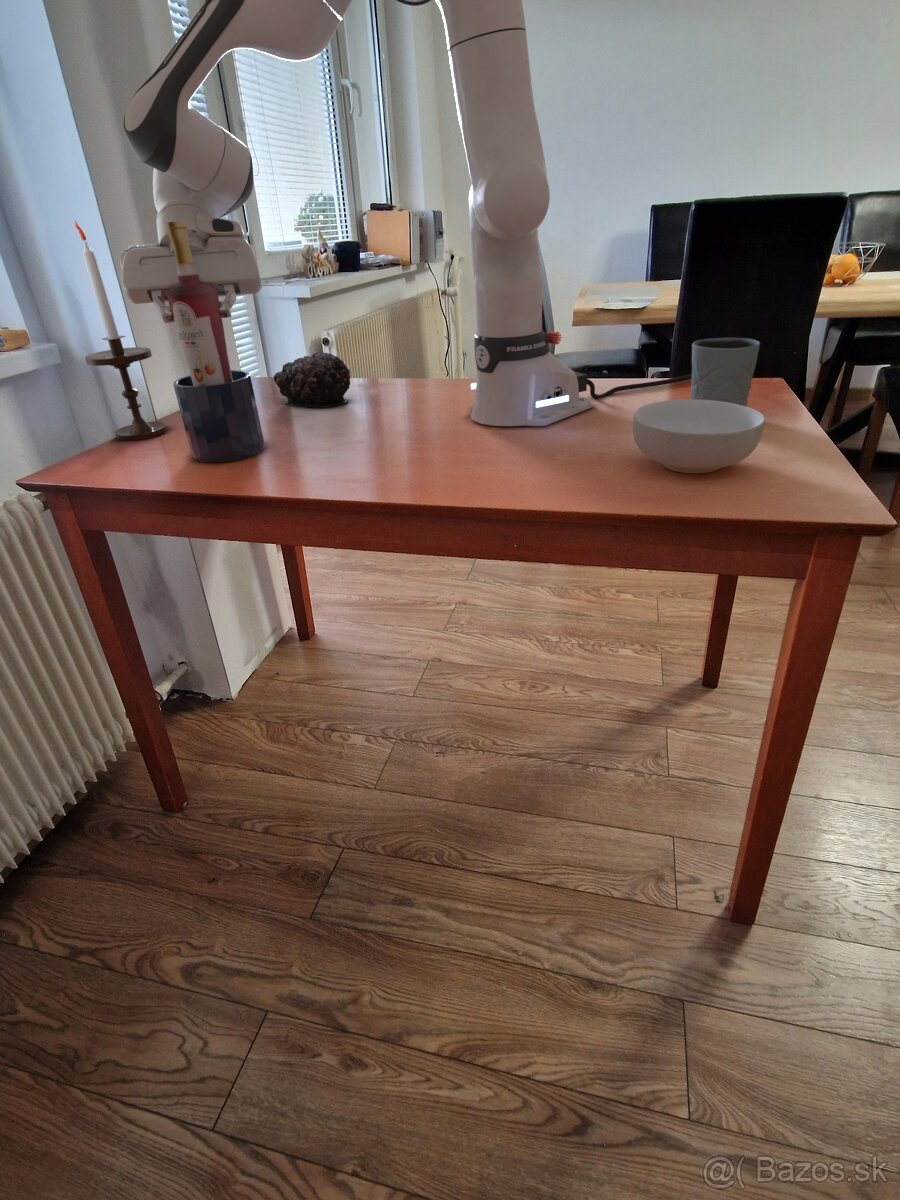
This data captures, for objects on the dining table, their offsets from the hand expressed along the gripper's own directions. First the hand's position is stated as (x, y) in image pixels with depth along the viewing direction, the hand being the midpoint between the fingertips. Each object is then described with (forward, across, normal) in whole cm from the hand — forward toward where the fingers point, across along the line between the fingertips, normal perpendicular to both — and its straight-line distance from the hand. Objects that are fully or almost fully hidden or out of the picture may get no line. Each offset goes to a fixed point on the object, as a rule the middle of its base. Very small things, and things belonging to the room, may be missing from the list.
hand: (197, 317), depth 101 cm
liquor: (+11, 0, +11) cm, 16 cm away
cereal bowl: (+39, +65, -9) cm, 76 cm away
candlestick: (+1, -17, +29) cm, 34 cm away
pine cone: (-5, +15, +35) cm, 38 cm away
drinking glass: (+25, +80, +5) cm, 84 cm away
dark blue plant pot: (+14, 0, +15) cm, 21 cm away
